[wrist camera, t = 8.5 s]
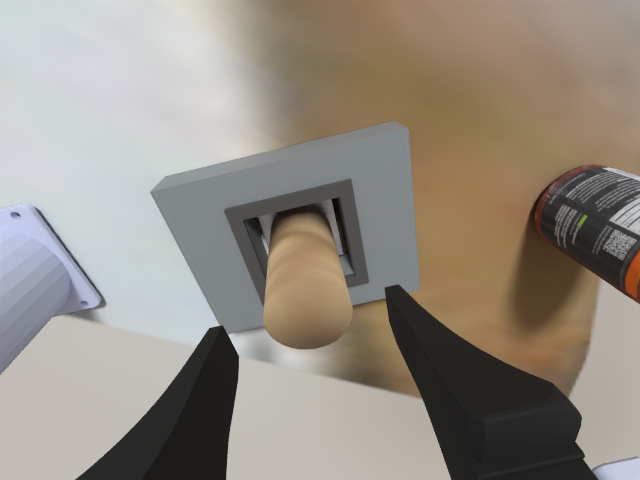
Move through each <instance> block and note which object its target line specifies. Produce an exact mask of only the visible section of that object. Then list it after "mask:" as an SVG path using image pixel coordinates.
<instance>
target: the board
mask: <svg viewBox="0 0 640 480" xmlns="http://www.w3.org/2000/svg"><path fill="white" fill-rule="evenodd" d="M150 193H151V195H152V197H153V198H154V200H155V202H156V204H157V206H158V208H159V210H160V212H161V214H162V216H163V218H164V220H165V221H166V223H167V225H168V227H169V229H170V231H171V233H172V235H173V237H174V239H175V241H176V243H177V244H178V246H179V248H180V250H181V252H182V254H183V256H184V258H185V260H186V262H187V264H188V266H189V267H190V269H191V271H192V273H193V275H194V277H195V279H196V281H197V283H198V285H199V287H200V288H201V290H202V292H203V294H204V296H205V298H206V300H207V302H208V304H209V306H210V308H211V310H212V311H213V313H214V315H215V317H216V319H217V321H218V323H219V325H220V326H221V325H223V326H224V328H225V330H226V332H227V334H231V333H236V332H240V331H244V330H249V329H253V328H257V327H262V326H265V325H264V321H263V313H264V301H265V290H266V279H267V267H268V255H267V253H266V250H265V247H264V244H263V242H262V239H261V236H260V233H259V231H258V228H257V225H256V222H255V219H254V217H259V216H263V215H267V214H271V213H275V212H279V211H284V210H288V209H292V208H296V207H300V206H305V205H309V204H313V203H317V202H321V201H325V200H330V199H334V198H337V200H338V205H339V210H340V215H341V220H342V225H343V229H344V234H345V239H346V244H347V249H348V253H346V254H342V255H339V259H340V262H341V266H342V270H343V274H344V277H345V281H346V285H347V289H348V292H349V296H350V300H351V303H352V306H353V305H357V304H362V303H366V302H370V301H375V300H379V299H384V298H386V296H385V289H384V287H388V286H393V285H397V284H399V285H400V286H401V287H402V288H403V289H404V290H405V291H406V292H407V293H410V292H414V291H418V290H420V280H419V266H418V253H417V239H416V225H415V211H414V198H413V184H412V170H411V156H410V143H409V129H408V128H406V127H404V126H403V125H401V124H399V123H398V122H396V121H391V122H387V123H383V124H379V125H375V126H370V127H366V128H362V129H358V130H354V131H350V132H346V133H342V134H338V135H334V136H330V137H326V138H321V139H317V140H313V141H309V142H305V143H301V144H297V145H293V146H289V147H285V148H281V149H277V150H272V151H268V152H264V153H260V154H256V155H252V156H248V157H244V158H240V159H236V160H232V161H228V162H223V163H219V164H215V165H211V166H207V167H203V168H199V169H195V170H191V171H187V172H183V173H179V174H174V175H170V176H166V177H165V178H164V179H163V180H162V181H161V182H160V183H159V184H157V185H156V186H155V187H154V188H153V189H152V190H151V191H150Z"/></svg>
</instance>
